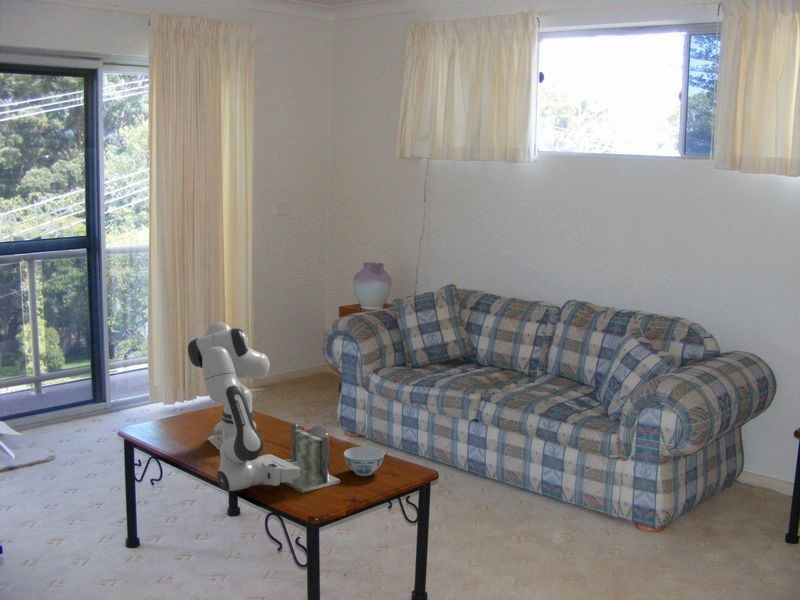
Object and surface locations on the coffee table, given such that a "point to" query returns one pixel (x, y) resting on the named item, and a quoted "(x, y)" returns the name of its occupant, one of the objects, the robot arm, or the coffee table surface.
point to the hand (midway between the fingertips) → (296, 462)
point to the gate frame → (307, 479)
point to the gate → (309, 452)
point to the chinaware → (364, 459)
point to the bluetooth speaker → (317, 431)
